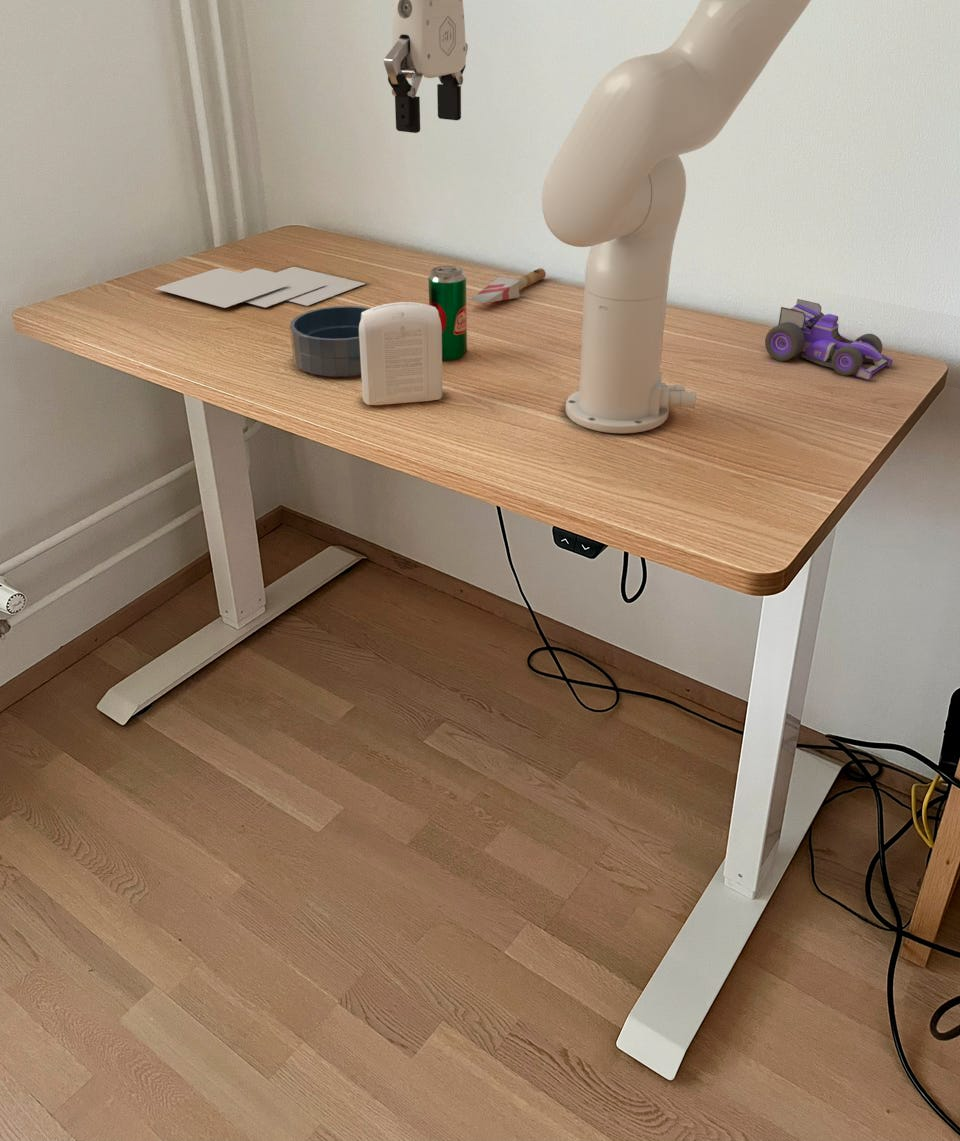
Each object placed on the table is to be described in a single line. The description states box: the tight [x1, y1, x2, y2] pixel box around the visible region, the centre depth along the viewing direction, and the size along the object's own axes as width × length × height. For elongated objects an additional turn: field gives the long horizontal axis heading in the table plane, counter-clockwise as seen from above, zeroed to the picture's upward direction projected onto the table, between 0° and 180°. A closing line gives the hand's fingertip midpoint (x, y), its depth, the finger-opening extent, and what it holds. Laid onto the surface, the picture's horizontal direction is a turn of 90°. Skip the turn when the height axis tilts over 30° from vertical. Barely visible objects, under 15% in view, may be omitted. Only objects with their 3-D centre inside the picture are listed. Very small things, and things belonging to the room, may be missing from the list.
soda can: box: [428, 265, 468, 362], centre depth 139 cm, size 5×5×12 cm
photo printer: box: [359, 301, 443, 406], centre depth 126 cm, size 10×4×12 cm, turn 103°
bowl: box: [289, 305, 372, 378], centre depth 139 cm, size 14×14×6 cm
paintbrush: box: [469, 267, 547, 304], centre depth 164 cm, size 4×3×20 cm
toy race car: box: [764, 298, 894, 381], centre depth 138 cm, size 10×15×6 cm, turn 48°
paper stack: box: [154, 266, 366, 309], centre depth 167 cm, size 23×25×1 cm
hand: (429, 125), depth 128 cm, fingers open, 9 cm apart
